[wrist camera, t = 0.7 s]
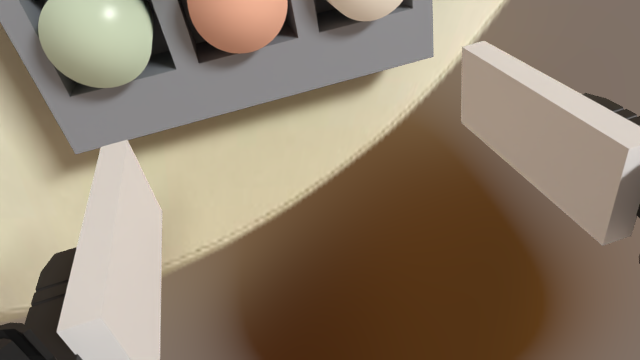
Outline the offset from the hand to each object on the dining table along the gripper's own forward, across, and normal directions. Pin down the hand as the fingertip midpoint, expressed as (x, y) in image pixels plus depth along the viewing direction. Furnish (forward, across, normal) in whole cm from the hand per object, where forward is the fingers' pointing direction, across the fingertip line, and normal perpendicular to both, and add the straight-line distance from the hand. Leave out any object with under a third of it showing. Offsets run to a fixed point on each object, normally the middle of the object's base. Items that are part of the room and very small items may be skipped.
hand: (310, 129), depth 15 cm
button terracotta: (+21, 0, 0) cm, 21 cm away
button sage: (+21, -9, 0) cm, 23 cm away
